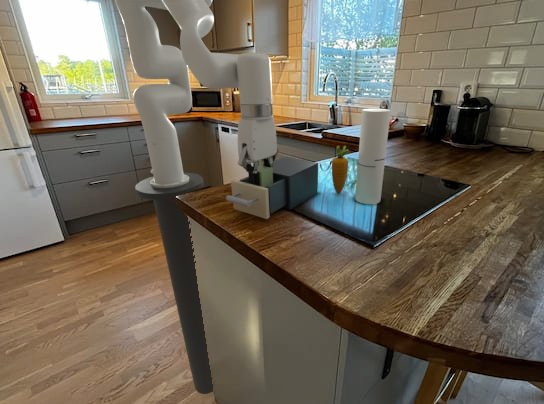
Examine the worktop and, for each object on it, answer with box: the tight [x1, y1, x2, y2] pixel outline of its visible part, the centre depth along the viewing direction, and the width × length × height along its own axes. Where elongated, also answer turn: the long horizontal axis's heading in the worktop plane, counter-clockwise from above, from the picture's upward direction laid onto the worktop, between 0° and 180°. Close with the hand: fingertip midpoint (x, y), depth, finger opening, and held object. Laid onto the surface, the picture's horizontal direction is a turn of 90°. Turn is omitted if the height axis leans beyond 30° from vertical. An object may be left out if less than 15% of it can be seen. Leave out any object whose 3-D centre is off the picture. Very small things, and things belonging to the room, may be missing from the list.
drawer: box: [225, 175, 288, 220], centre depth 78 cm, size 18×11×8 cm, turn 146°
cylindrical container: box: [354, 107, 392, 205], centre depth 81 cm, size 7×7×25 cm
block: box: [257, 164, 273, 188], centre depth 77 cm, size 4×4×4 cm
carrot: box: [331, 145, 350, 195], centre depth 87 cm, size 5×5×15 cm
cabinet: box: [261, 156, 319, 211], centre depth 87 cm, size 15×13×10 cm
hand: (261, 183), depth 77 cm, fingers closed on block, 4 cm apart
